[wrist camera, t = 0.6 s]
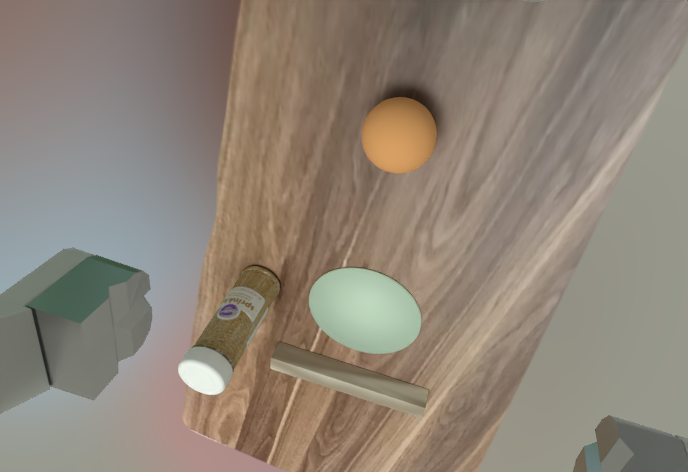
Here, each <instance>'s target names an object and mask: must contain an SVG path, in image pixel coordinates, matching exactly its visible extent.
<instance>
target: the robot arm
mask: <svg viewBox="0 0 688 472" xmlns="http://www.w3.org/2000/svg"><path fill="white" fill-rule="evenodd" d="M149 290H150V281H149V275H148V274H147V273H145V272H144V271H142V270H139V269H136V268H133V267H130V266H127V265H124V264H121V263H118V262H115V261H112V260H109V259H107V258H104V257H101V256H98V255H93V254H89V253H87V252H84V251H81V250H78V249H75V248H68V249H63V250H62V251H60V252H59V253H57V254H56V255H55V256H53V257H52V258H51V259H49V260H48V261H46V262H45V263H44V264H42V265H41V266H39V267H38V268H37V269H35V270H34V271H33V272H31V273H30V274H28V275H27V276H25V277H24V278H23V279H21V280H20V281H18V282H17V283H16V284H14V285H13V286H12V287H10V288H9V289H7V290H6V291H5V292H3V293H2V294H0V414H1V413H3V412H5V411H7V410H9V409H11V408H13V407H15V406H17V405H19V404H21V403H23V402H25V401H27V400H29V399H31V398H33V397H35V396H37V395H39V394H41V393H43V392H45V391H47V390H49V389H50V386H51V387H54V388H57V389H61V390H63V391H67V392H70V393H73V394H76V395H79V396H82V397H85V398H88V399H91V400H94V399H95V398H96V397H97V396H98V395H99V394H100V393H101V392H102V390H103V389H104V388H105V387H106V386H107V385H108V384H109V383H110V381H111V380H112V379H113V378H114V377H115V376H116V375H117V374H118V361H120V360H123V359H125V358H128V357H130V356H133V355H134V354H135V353H136V352H137V350H138V349H139V348H140V347H141V346H142V345H143V343H144V341H145V339H146V337H147V335H148V332H149V331H150V327H151V321H152V307H151V306H150V304H149V303H148V302H147V300H146V299H145V297H144V295H145V294H146V293H147V292H148V291H149ZM595 431H596V438H597V442H595V443H592V444H590V445H587V446H584V447H583V449H582V451H581V452H580V454H579V456H578V457H577V459H576V462H575V466H574V470H573V472H688V439H687V438H684V437H680V436H677V435H675V436H674V435H672V434H669V433H666V432H663V431H660V430H656V429H653V428H650V427H646V426H643V425H640V424H636V423H633V422H629V421H626V420H623V419H620V418H616V417H613V416H610V415H609V416H607V417H605V418H604V419H602V420H601V422H600V423H599V425H598V426H597V428H596V429H595Z"/></svg>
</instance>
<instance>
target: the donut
mask: <svg viewBox="0 0 688 472" xmlns="http://www.w3.org/2000/svg"><path fill="white" fill-rule="evenodd" d="M522 1H526V2H531V3H534V2H541V1H545V0H522Z"/></svg>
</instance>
